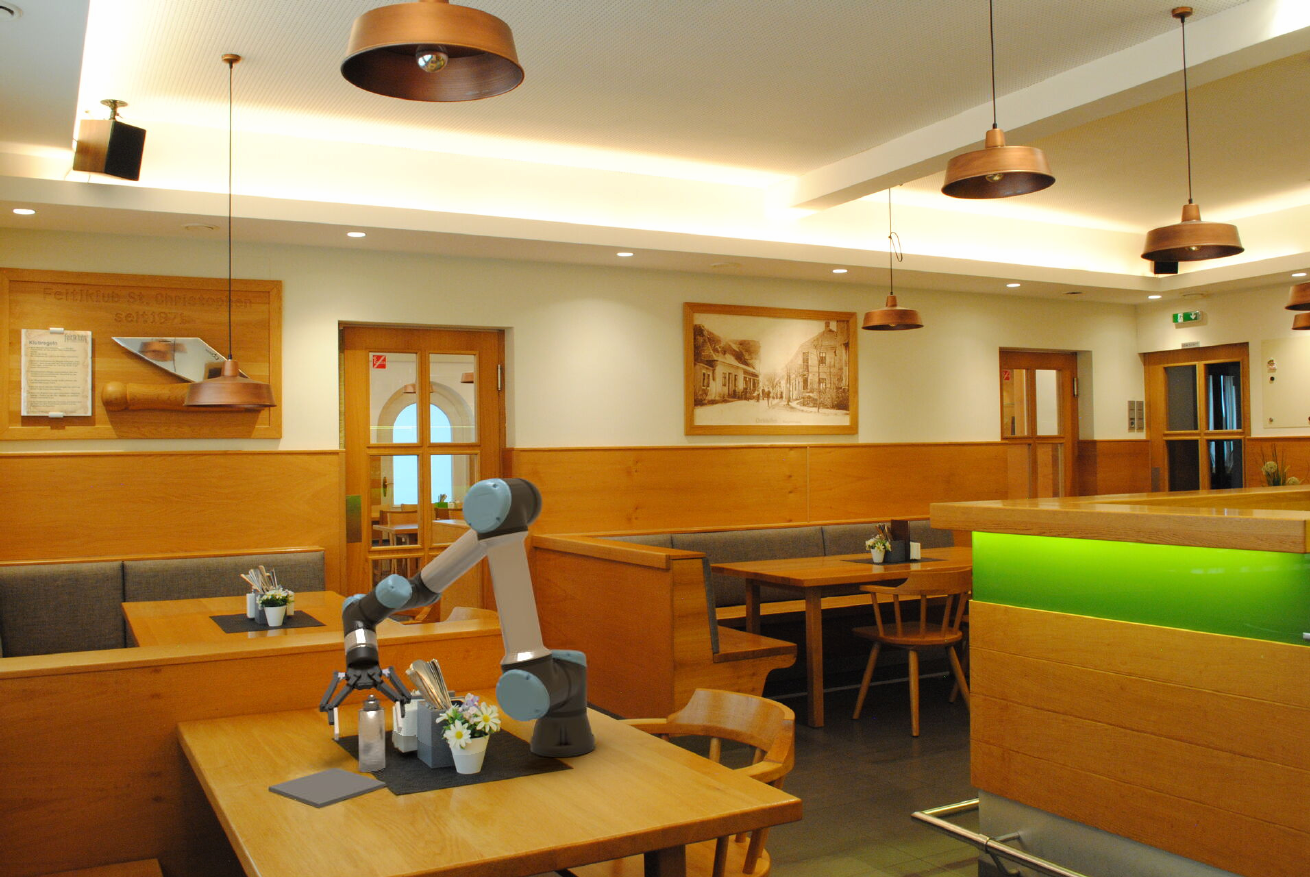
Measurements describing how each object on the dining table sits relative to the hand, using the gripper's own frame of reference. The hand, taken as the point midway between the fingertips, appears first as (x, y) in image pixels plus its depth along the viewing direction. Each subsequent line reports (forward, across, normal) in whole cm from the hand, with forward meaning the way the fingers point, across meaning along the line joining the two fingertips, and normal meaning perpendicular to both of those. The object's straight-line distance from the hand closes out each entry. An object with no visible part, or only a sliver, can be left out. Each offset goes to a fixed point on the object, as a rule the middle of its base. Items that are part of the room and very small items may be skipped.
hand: (368, 733), depth 223 cm
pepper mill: (+6, -1, -5) cm, 8 cm away
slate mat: (+13, +10, +3) cm, 17 cm away
